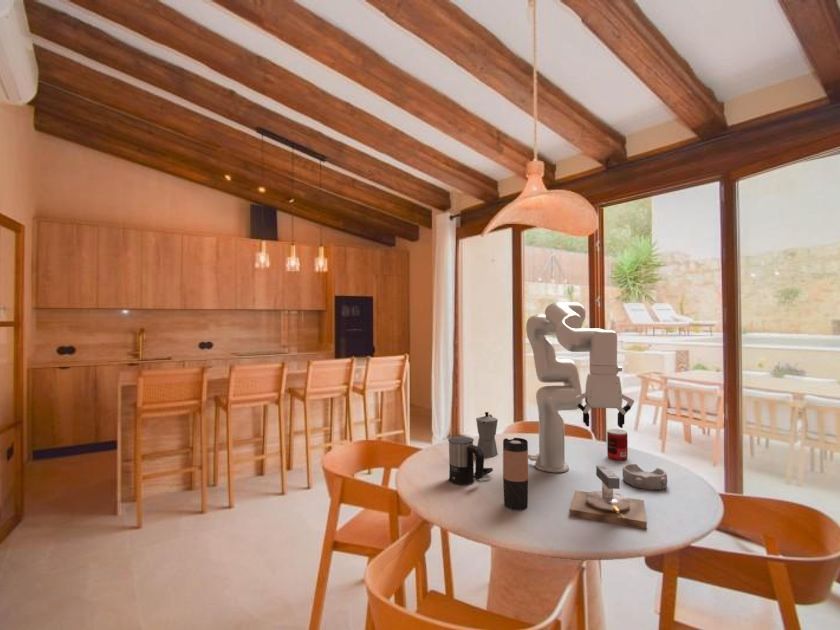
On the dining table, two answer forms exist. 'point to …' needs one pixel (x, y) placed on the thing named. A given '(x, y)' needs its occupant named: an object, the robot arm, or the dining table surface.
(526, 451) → the travel mug
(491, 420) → the coffeepot
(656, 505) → the dining table surface
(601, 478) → the door handle
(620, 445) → the canned food
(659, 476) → the dish
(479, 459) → the milk frother
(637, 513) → the dial stand
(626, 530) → the dining table surface
